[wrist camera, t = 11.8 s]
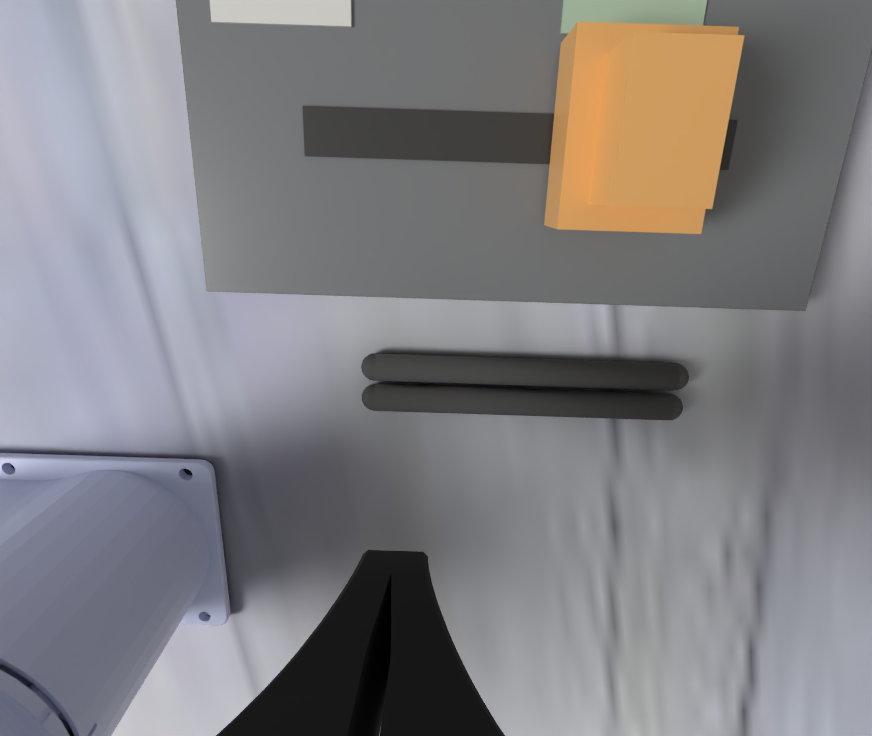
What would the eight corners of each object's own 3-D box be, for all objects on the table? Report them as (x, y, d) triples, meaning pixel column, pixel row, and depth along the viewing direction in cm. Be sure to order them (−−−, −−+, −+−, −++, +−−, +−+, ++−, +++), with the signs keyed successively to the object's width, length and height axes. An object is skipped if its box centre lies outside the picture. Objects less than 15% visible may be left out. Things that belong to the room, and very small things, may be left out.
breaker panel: (224, 284, 19) (205, 291, 18) (192, -48, 16) (166, -73, 14) (778, 302, 19) (807, 311, 18) (855, -26, 16) (899, -49, 14)
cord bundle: (363, 404, 21) (360, 414, 20) (363, 349, 20) (359, 357, 19) (673, 414, 21) (684, 424, 20) (683, 359, 20) (695, 368, 19)
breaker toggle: (544, 224, 17) (574, 234, 13) (560, 43, 15) (600, -8, 11) (671, 229, 17) (739, 240, 13) (701, 48, 15) (789, -2, 11)
